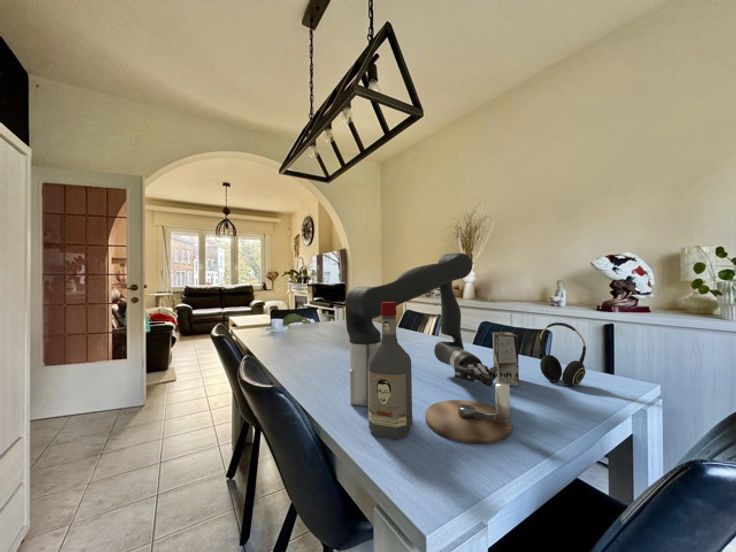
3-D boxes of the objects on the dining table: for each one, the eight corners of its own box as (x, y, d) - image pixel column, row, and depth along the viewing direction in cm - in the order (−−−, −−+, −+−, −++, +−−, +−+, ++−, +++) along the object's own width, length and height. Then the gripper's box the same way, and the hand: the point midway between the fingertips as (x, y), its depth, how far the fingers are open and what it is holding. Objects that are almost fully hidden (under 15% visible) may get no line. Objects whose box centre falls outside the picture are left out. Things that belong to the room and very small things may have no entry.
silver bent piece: (455, 415, 76) (454, 377, 76) (462, 409, 79) (461, 373, 79) (507, 429, 68) (506, 388, 68) (512, 422, 71) (511, 383, 71)
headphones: (548, 375, 111) (546, 319, 111) (594, 387, 97) (592, 324, 98) (532, 379, 106) (531, 321, 107) (579, 392, 93) (577, 326, 94)
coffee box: (519, 386, 100) (518, 336, 100) (498, 385, 101) (497, 335, 101) (512, 377, 109) (511, 331, 109) (493, 376, 110) (492, 331, 110)
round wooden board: (437, 446, 65) (437, 437, 65) (417, 406, 85) (417, 400, 85) (529, 441, 66) (529, 433, 66) (488, 404, 86) (488, 397, 86)
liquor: (379, 418, 79) (376, 300, 79) (414, 423, 76) (411, 301, 76) (365, 435, 70) (363, 303, 71) (404, 442, 67) (402, 304, 67)
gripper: (444, 352, 97) (463, 368, 79) (485, 351, 97) (514, 367, 80) (444, 376, 96) (464, 398, 79) (486, 375, 97) (514, 396, 80)
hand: (489, 382), depth 79 cm, fingers closed
